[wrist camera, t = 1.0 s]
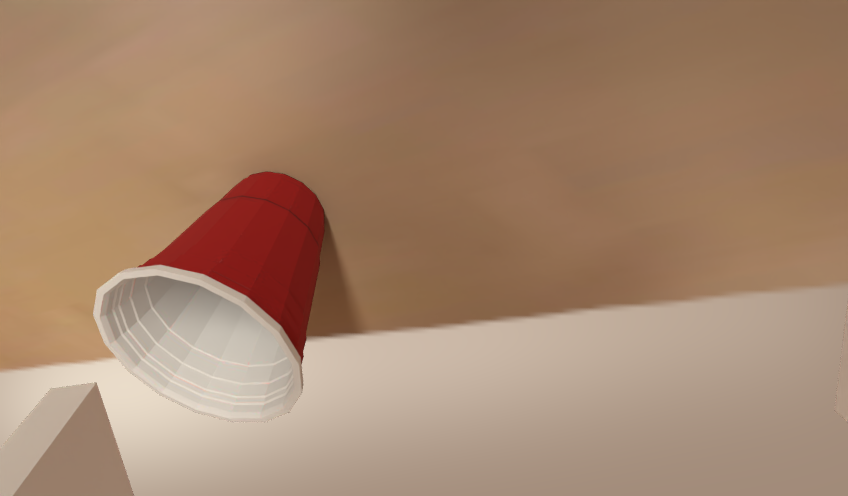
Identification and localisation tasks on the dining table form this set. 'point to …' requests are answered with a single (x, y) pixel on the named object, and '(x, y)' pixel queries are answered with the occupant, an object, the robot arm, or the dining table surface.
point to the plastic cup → (224, 304)
